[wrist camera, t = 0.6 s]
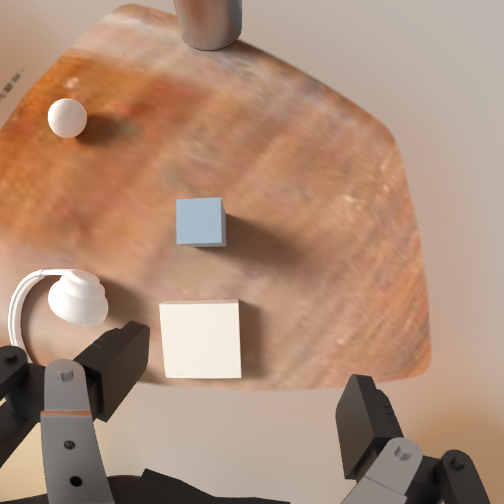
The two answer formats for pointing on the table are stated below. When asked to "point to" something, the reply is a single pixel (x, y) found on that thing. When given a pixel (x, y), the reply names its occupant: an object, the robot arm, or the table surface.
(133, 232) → the table surface
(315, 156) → the table surface
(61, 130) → the egg
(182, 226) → the pillar
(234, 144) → the table surface
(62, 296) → the headphones
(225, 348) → the base
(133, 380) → the robot arm
